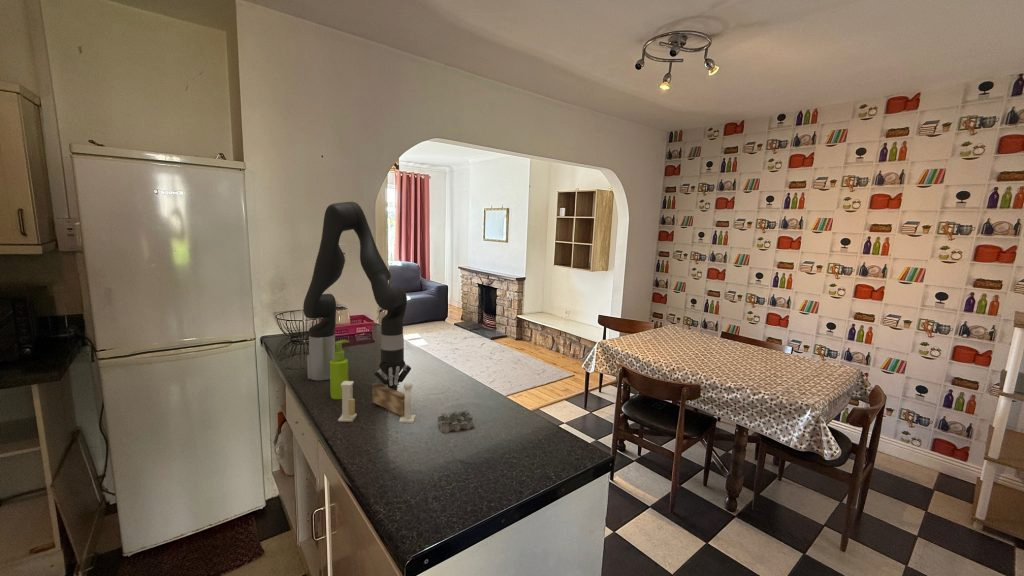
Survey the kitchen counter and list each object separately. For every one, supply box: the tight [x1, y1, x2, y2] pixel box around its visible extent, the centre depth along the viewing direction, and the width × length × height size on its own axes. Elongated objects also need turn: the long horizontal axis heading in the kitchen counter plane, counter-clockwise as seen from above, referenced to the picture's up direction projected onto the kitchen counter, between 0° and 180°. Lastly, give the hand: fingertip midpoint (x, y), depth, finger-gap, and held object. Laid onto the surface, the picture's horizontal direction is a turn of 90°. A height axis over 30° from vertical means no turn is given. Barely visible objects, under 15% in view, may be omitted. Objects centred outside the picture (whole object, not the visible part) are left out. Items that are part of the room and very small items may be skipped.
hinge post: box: [398, 381, 417, 424], centre depth 128 cm, size 4×4×13 cm
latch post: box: [337, 380, 358, 423], centre depth 127 cm, size 5×4×12 cm
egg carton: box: [436, 409, 475, 434], centre depth 126 cm, size 11×8×4 cm
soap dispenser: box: [329, 339, 350, 400], centre depth 143 cm, size 6×7×20 cm
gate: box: [371, 382, 405, 417], centre depth 134 cm, size 16×2×6 cm, turn 55°
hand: (392, 394), depth 138 cm, fingers closed
